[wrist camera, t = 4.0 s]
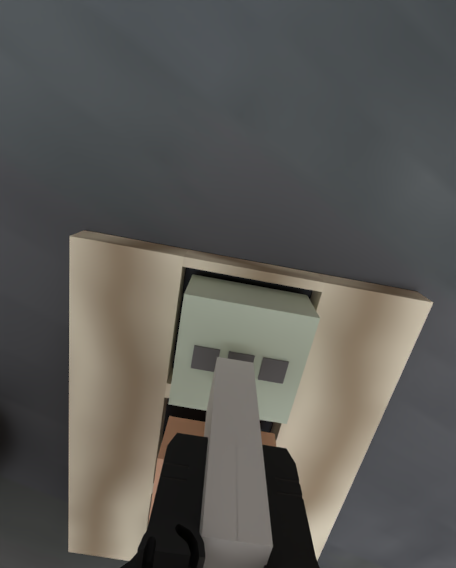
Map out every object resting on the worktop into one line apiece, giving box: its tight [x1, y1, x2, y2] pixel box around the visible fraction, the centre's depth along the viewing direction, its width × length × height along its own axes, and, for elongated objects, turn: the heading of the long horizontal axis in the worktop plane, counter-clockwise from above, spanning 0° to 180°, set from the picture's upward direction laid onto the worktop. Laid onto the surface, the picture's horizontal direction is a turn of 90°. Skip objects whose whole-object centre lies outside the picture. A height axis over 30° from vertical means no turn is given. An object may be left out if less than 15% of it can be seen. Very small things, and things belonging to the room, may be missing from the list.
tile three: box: [168, 274, 320, 424], centre depth 16 cm, size 6×6×3 cm
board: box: [68, 230, 433, 561], centre depth 20 cm, size 18×24×2 cm
